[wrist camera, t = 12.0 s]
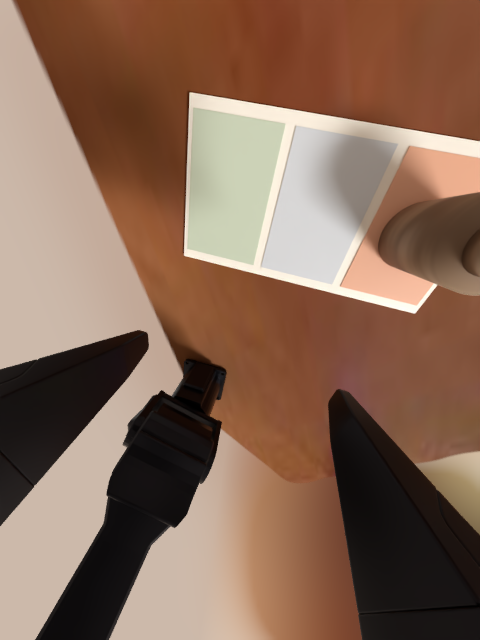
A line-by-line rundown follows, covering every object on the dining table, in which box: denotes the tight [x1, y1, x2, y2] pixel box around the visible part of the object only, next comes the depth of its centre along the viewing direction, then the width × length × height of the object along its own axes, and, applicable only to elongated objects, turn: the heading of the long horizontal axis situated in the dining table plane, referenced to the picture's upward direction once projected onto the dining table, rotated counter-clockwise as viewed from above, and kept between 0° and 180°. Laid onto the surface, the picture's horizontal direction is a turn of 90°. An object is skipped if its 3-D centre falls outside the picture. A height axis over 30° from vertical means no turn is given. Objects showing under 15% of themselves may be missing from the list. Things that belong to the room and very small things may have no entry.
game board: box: [184, 92, 480, 313], centre depth 16 cm, size 12×24×1 cm, turn 79°
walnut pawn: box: [378, 192, 480, 296], centre depth 11 cm, size 5×5×8 cm
